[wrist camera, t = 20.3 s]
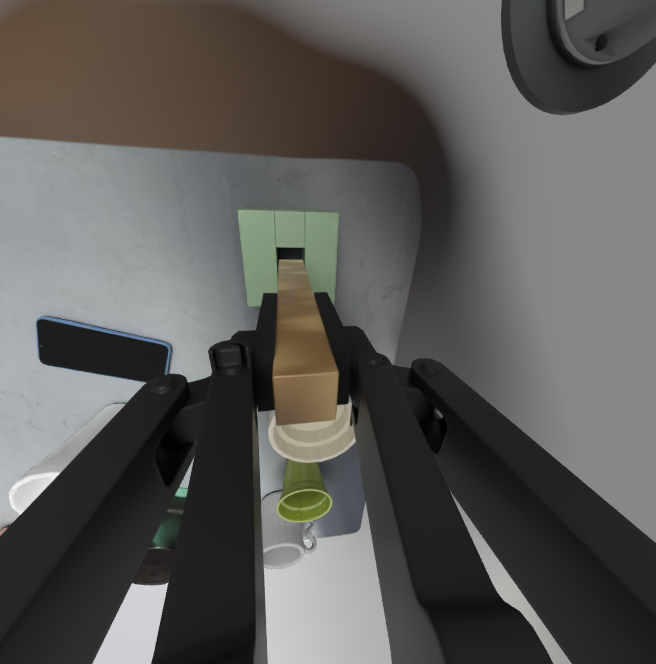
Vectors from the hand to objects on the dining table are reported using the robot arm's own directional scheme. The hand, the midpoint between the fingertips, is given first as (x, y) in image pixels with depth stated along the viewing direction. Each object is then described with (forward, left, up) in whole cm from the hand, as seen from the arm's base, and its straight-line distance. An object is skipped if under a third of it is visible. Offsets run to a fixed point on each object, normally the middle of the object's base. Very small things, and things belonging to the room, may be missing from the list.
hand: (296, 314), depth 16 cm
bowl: (+12, +23, -20) cm, 33 cm away
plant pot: (+22, +34, -20) cm, 45 cm away
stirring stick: (0, 0, -10) cm, 10 cm away
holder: (0, 0, -20) cm, 20 cm away
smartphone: (+28, -3, -20) cm, 35 cm away
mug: (+32, +43, -20) cm, 57 cm away
